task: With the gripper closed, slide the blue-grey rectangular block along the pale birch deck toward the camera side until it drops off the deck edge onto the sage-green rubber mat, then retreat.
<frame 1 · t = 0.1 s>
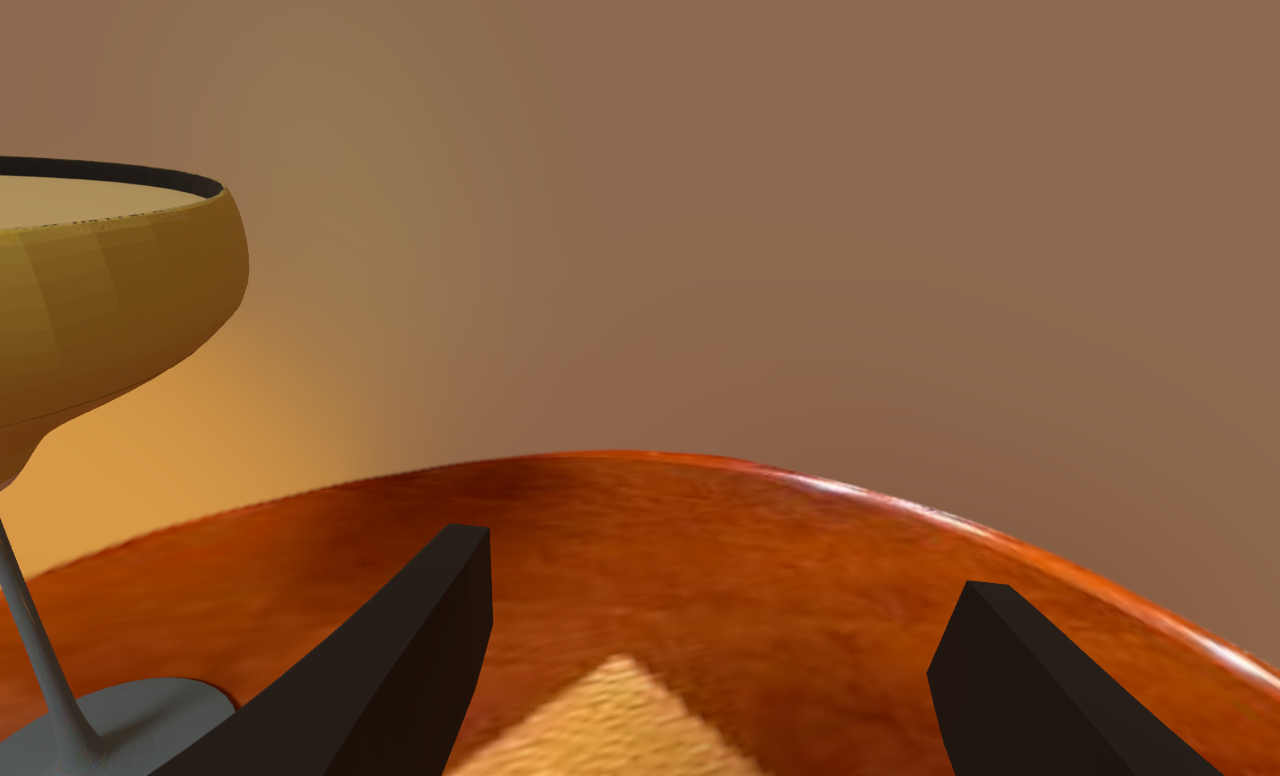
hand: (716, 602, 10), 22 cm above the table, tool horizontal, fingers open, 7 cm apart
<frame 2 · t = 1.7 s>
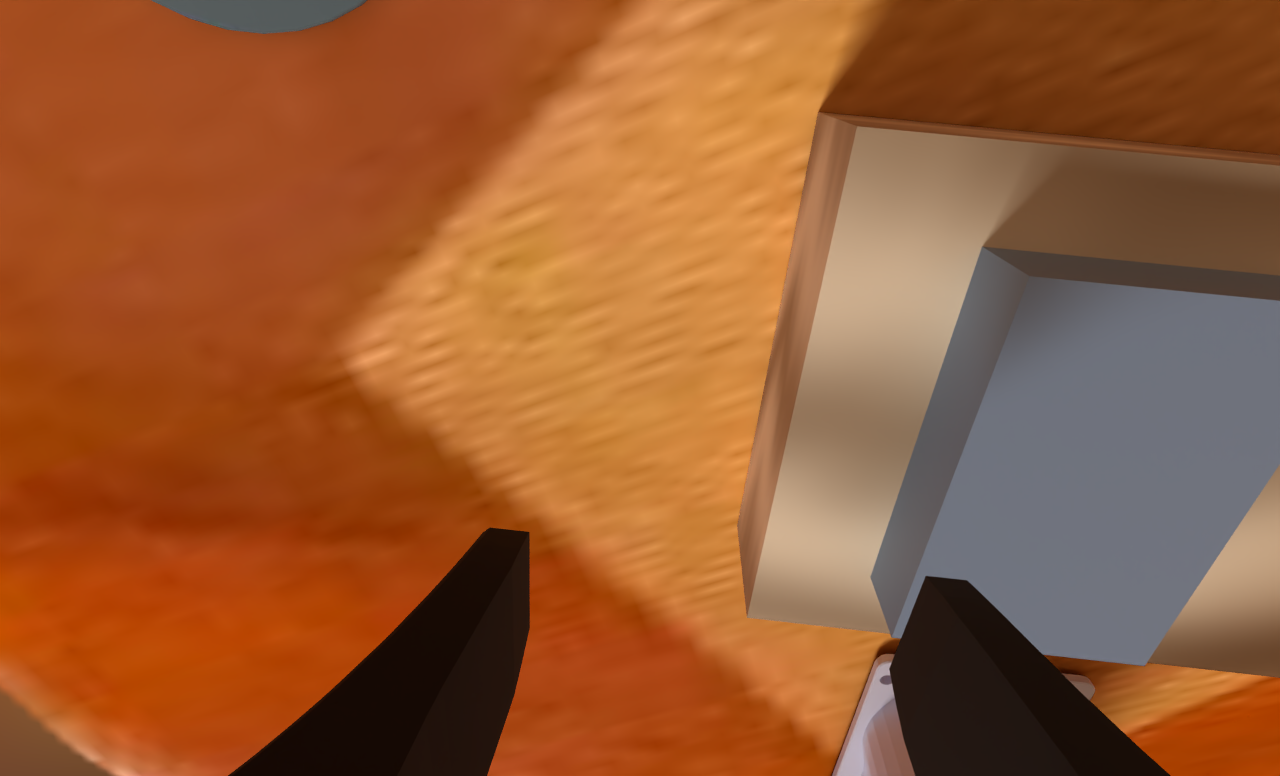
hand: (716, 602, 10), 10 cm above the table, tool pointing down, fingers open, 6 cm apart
blue-grey rectangular block: (1046, 448, 15), point 4 cm above the table, touching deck
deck: (1046, 381, 18), on the table
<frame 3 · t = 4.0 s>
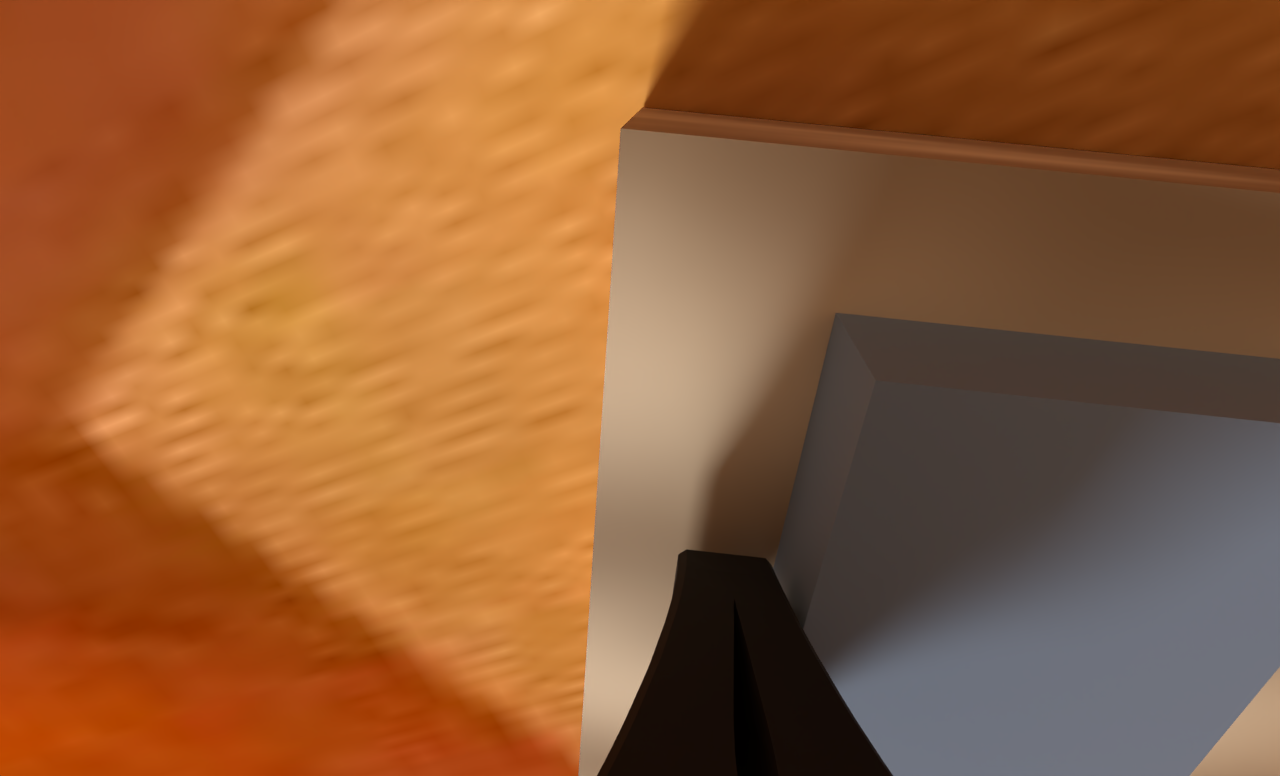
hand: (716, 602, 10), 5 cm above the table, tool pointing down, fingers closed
blue-grey rectangular block: (955, 587, 10), point 4 cm above the table, touching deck, gripper
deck: (977, 463, 14), on the table
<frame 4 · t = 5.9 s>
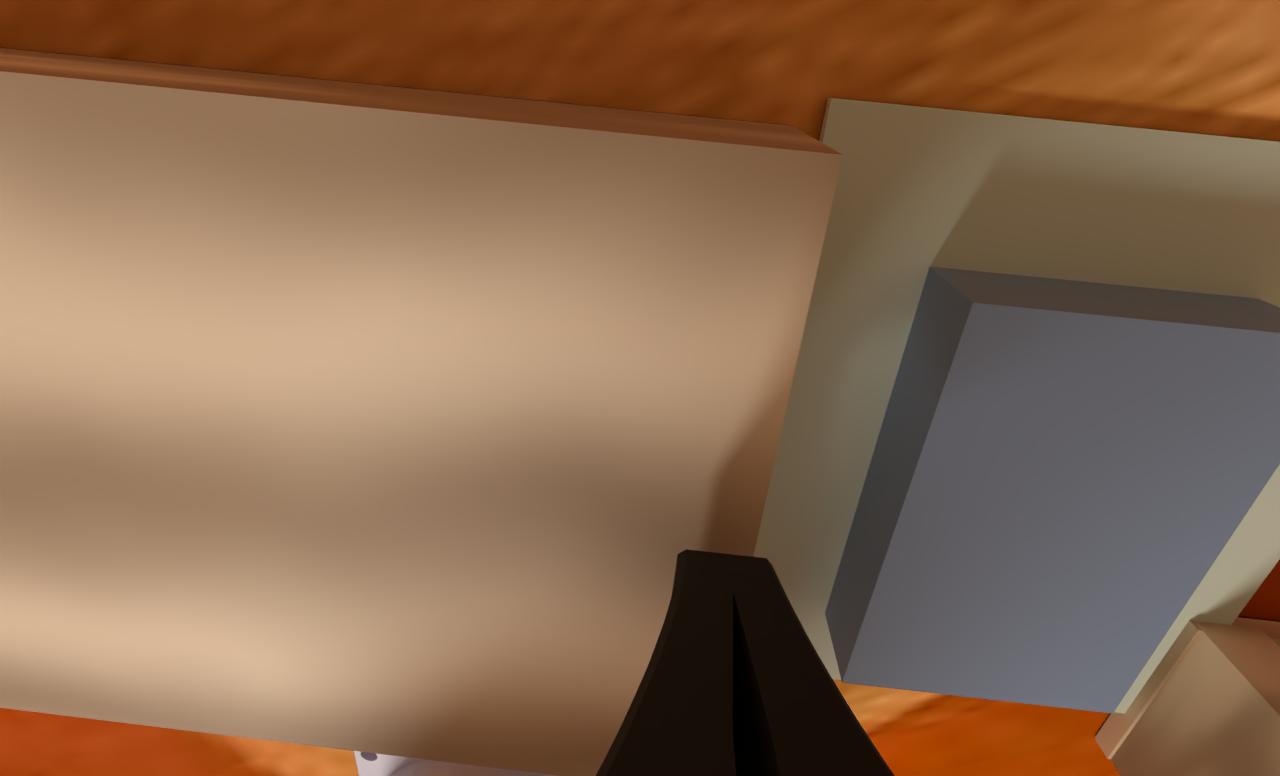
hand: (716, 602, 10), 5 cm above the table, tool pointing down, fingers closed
oak rack: (1249, 692, 16), on the table
mat: (1028, 471, 14), on the table
blue-grey rectangular block: (1054, 542, 12), point 2 cm above the table, tilted 180°, touching mat
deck: (382, 400, 14), on the table
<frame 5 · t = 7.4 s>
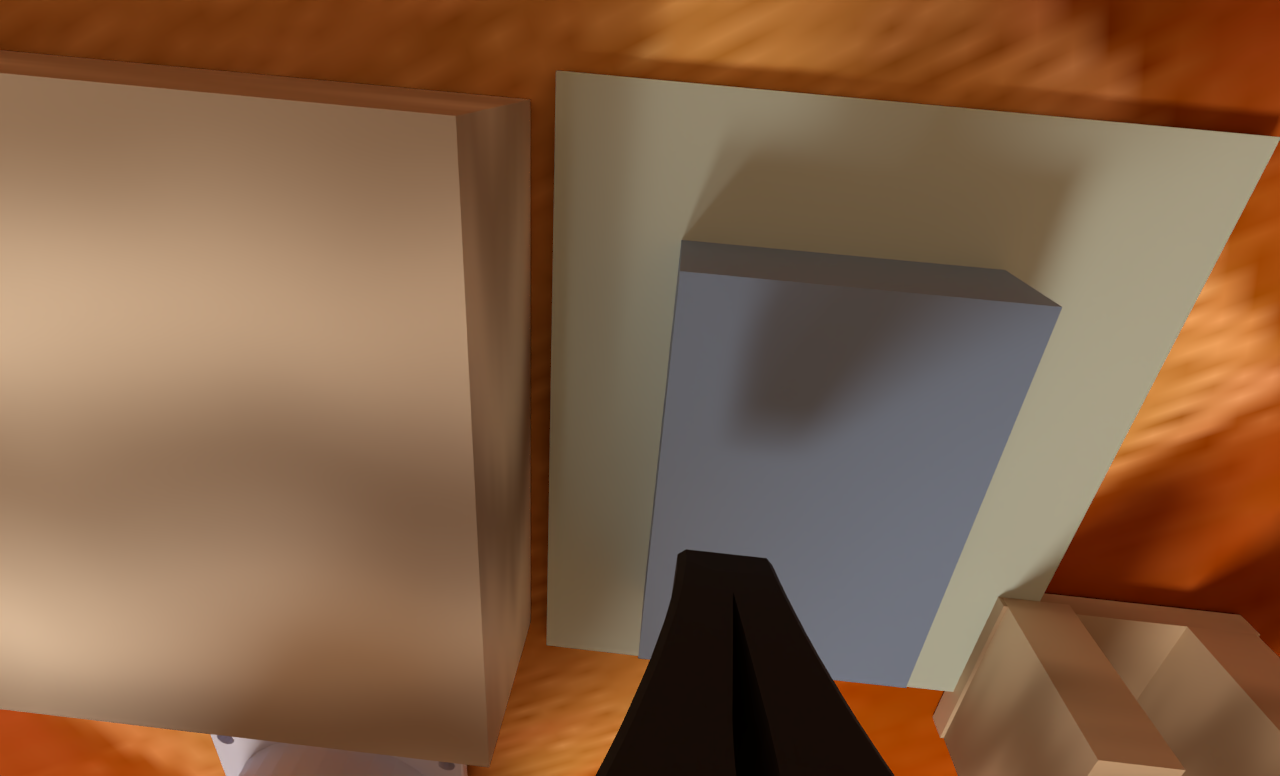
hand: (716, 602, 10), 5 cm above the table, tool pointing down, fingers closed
oak rack: (1075, 669, 16), on the table
mat: (820, 446, 14), on the table
blue-grey rectangular block: (811, 514, 12), point 2 cm above the table, tilted 180°, touching mat
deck: (183, 379, 14), on the table
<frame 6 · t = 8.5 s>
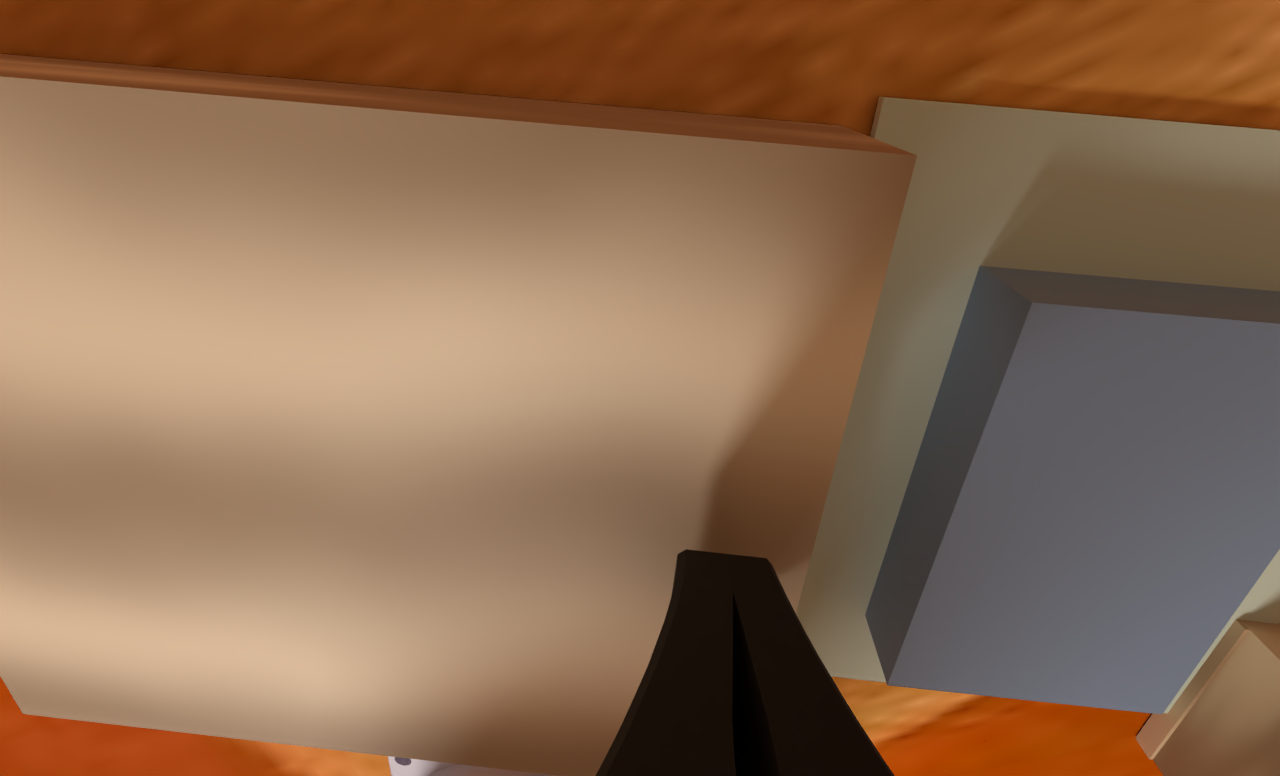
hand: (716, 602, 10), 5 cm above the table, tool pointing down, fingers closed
mat: (1074, 470, 14), on the table
blue-grey rectangular block: (1108, 543, 12), point 2 cm above the table, tilted 180°, touching mat
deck: (422, 405, 14), on the table
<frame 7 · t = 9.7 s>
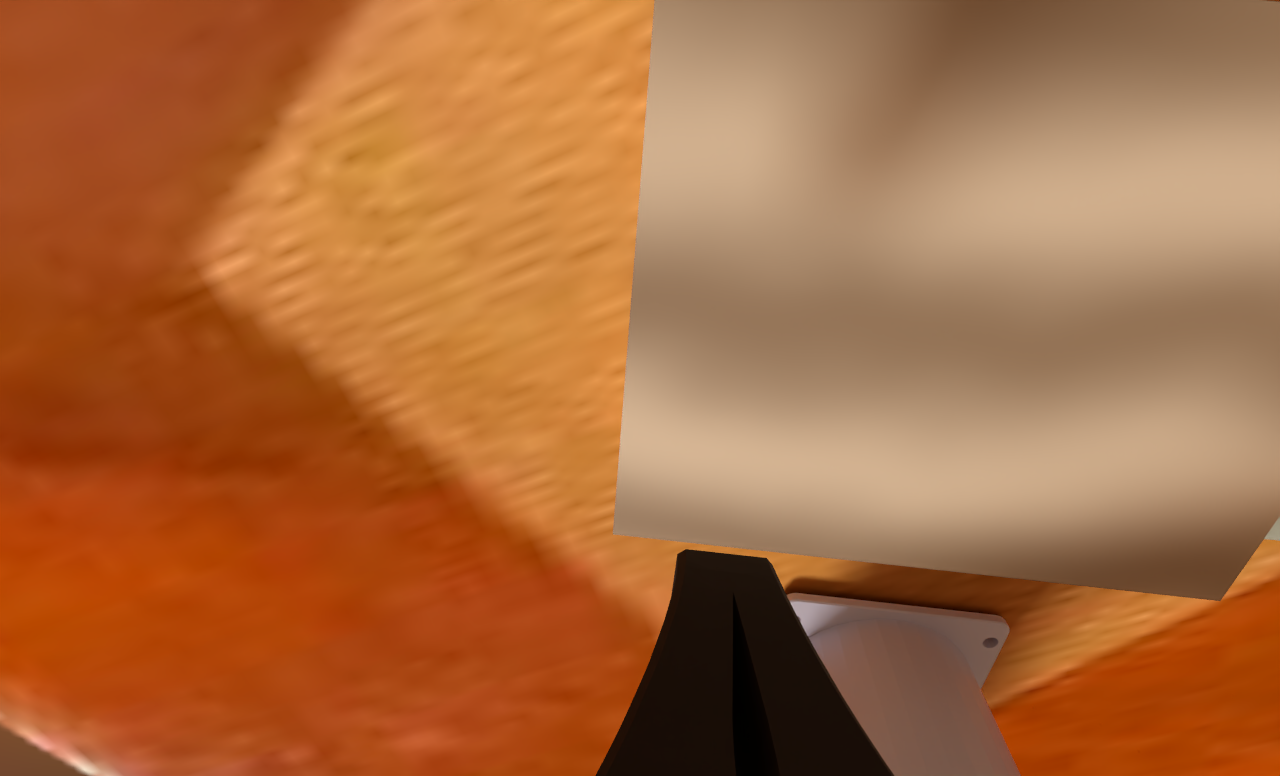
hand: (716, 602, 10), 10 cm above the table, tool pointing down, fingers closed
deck: (933, 284, 17), on the table
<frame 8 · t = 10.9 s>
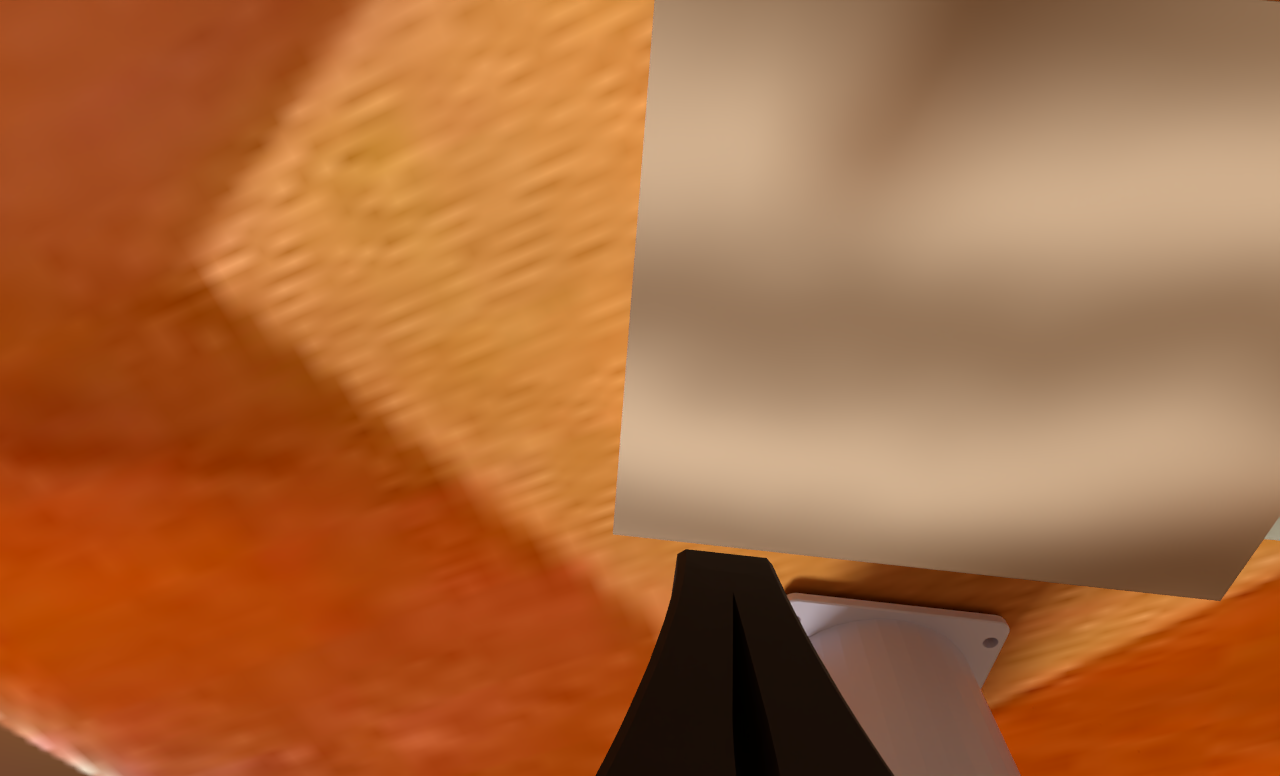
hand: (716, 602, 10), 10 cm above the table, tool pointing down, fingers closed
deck: (933, 284, 17), on the table
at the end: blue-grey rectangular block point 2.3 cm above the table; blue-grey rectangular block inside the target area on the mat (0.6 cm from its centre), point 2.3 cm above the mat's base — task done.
